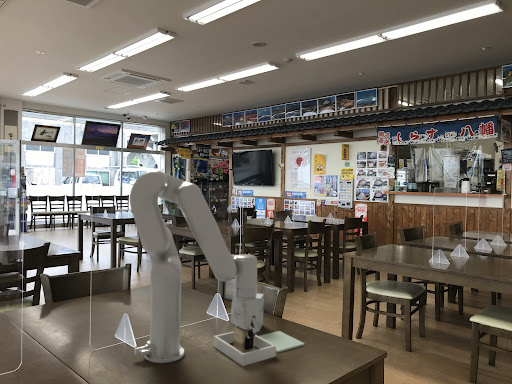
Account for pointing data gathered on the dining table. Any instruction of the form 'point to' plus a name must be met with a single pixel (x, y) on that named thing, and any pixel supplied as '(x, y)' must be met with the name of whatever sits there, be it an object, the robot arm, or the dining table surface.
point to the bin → (243, 359)
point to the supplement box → (260, 309)
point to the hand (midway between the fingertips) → (243, 345)
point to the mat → (282, 341)
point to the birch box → (240, 339)
